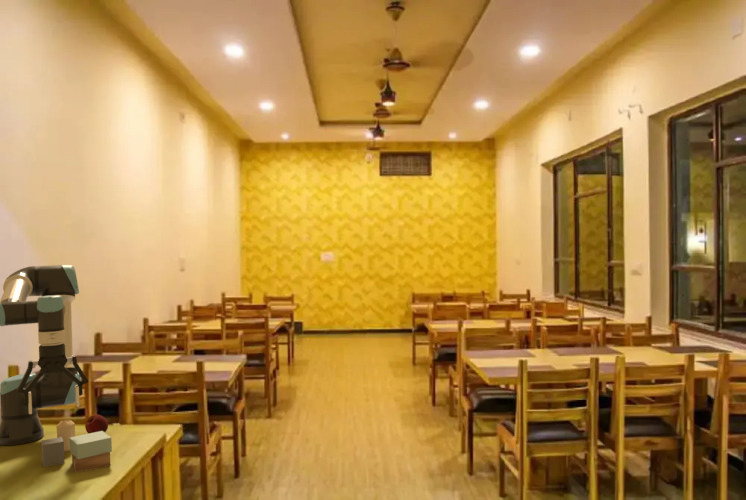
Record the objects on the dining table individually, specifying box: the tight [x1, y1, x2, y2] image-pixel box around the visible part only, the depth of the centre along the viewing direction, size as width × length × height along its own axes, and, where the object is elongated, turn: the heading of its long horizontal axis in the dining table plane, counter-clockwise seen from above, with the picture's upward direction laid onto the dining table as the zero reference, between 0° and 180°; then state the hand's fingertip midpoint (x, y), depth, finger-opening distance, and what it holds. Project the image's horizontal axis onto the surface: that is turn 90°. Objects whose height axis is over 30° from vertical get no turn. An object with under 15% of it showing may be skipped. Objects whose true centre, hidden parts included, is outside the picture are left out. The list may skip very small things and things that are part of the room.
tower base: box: [71, 452, 112, 473], centre depth 196 cm, size 10×10×4 cm
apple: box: [84, 414, 109, 434], centre depth 226 cm, size 7×8×8 cm
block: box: [40, 437, 65, 468], centre depth 199 cm, size 6×6×7 cm
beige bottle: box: [56, 418, 76, 453], centre depth 212 cm, size 6×6×10 cm
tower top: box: [69, 431, 113, 459], centre depth 196 cm, size 10×10×4 cm
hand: (54, 409), depth 199 cm, fingers open, 13 cm apart
